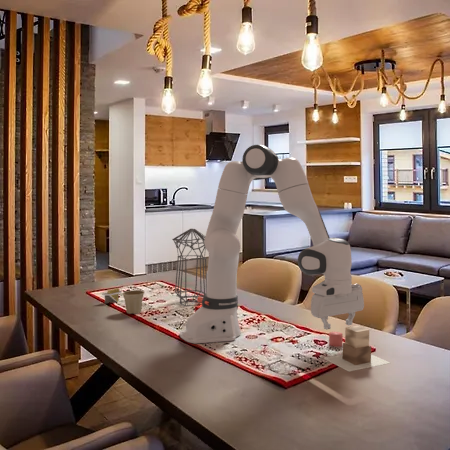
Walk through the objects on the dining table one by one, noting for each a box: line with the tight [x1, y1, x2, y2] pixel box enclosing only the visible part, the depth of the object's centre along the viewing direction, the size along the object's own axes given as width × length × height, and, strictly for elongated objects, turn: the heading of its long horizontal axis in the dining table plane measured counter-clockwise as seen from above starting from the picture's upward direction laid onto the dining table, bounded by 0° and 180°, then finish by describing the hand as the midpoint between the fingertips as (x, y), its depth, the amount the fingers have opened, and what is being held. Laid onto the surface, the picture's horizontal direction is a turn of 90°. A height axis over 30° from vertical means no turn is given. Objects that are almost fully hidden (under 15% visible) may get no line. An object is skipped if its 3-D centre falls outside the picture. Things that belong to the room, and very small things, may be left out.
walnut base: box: [341, 342, 372, 365], centre depth 150 cm, size 6×6×5 cm
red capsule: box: [328, 331, 343, 348], centre depth 166 cm, size 4×4×5 cm
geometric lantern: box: [172, 228, 208, 307], centre depth 226 cm, size 16×16×35 cm
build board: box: [323, 353, 391, 373], centre depth 151 cm, size 16×12×1 cm
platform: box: [101, 287, 123, 304], centre depth 229 cm, size 12×18×7 cm, turn 141°
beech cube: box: [344, 325, 370, 348], centre depth 150 cm, size 5×5×5 cm
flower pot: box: [121, 289, 145, 315], centre depth 211 cm, size 9×9×9 cm
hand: (338, 326), depth 166 cm, fingers open, 8 cm apart
